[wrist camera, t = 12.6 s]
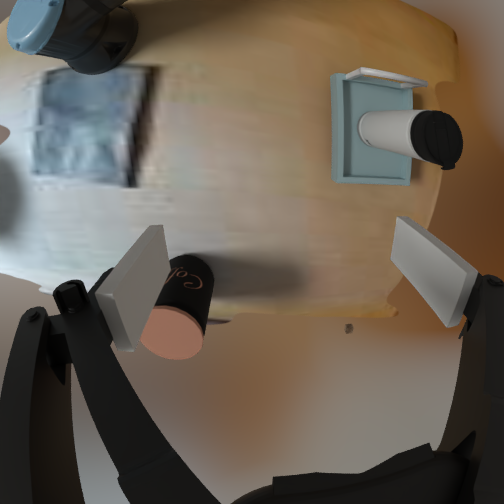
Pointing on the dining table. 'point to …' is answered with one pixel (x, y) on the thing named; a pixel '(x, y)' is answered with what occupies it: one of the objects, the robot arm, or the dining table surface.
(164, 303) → the coffee jar
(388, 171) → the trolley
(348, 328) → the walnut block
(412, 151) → the travel mug
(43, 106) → the dining table surface
